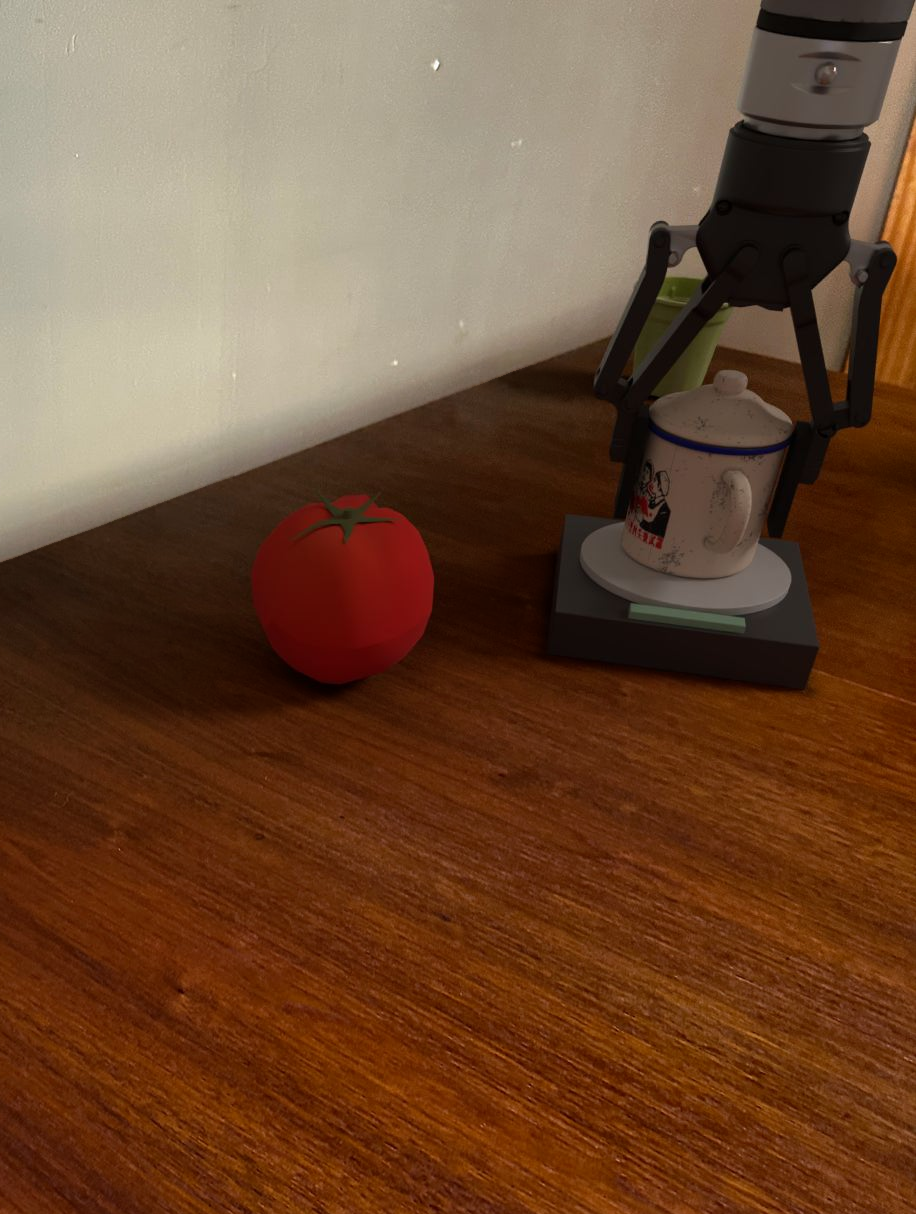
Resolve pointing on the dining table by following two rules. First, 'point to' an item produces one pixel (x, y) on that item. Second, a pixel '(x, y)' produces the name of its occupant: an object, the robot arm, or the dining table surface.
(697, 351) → the plant pot
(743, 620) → the scale
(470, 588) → the dining table surface
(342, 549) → the tomato
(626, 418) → the robot arm
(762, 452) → the teacup with lid
